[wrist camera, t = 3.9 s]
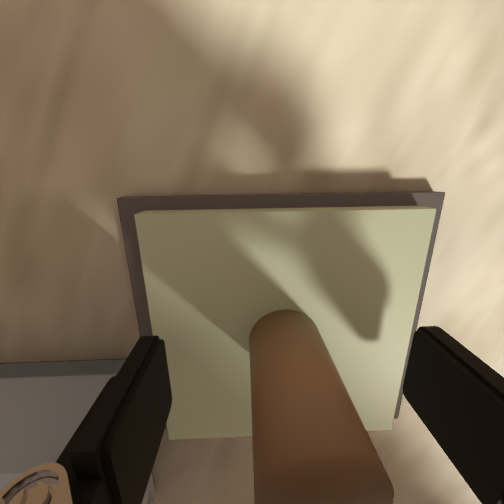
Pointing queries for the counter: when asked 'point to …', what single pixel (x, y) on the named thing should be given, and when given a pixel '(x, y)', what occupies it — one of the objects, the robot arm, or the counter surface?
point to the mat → (200, 202)
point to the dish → (47, 411)
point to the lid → (288, 335)
